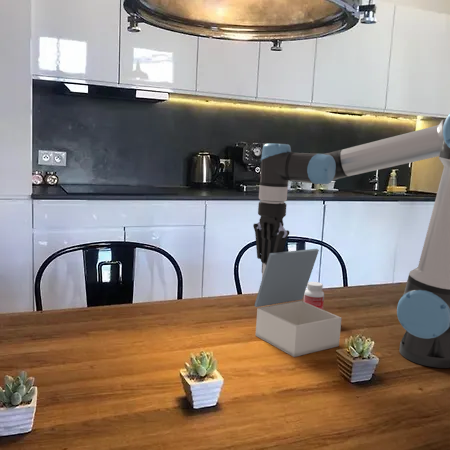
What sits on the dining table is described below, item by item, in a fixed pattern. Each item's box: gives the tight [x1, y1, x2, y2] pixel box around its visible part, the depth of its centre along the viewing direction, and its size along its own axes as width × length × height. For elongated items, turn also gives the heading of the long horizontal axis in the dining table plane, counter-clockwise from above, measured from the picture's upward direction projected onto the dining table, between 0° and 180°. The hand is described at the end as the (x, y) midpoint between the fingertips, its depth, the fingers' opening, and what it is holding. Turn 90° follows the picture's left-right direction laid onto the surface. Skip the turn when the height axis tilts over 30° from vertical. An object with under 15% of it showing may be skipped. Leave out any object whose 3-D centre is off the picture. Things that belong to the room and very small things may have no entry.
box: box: [255, 300, 342, 358], centre depth 144 cm, size 16×16×8 cm
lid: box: [254, 248, 320, 308], centre depth 148 cm, size 16×17×2 cm
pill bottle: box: [302, 281, 325, 310], centre depth 163 cm, size 6×6×11 cm
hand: (266, 286), depth 147 cm, fingers closed
